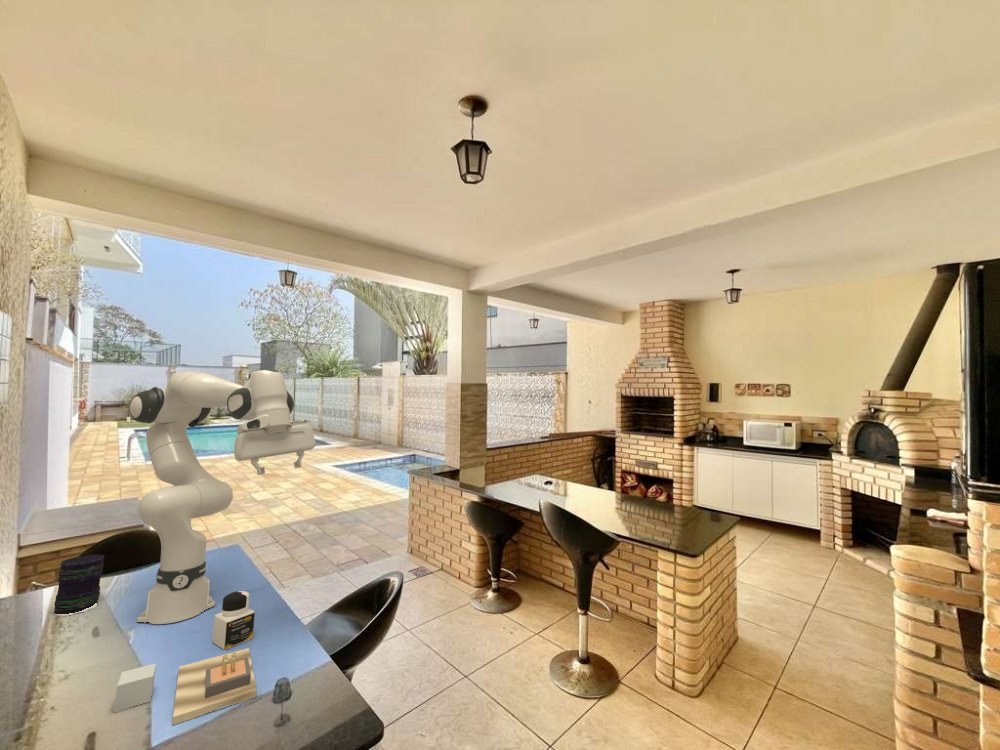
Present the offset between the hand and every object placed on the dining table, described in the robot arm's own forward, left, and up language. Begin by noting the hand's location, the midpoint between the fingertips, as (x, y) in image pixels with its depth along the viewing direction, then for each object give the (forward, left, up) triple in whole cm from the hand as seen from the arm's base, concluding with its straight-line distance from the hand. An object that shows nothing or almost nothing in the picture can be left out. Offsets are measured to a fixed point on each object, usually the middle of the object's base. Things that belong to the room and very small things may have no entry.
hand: (280, 471), depth 111 cm
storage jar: (-58, -46, -46) cm, 87 cm away
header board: (+12, -11, -45) cm, 48 cm away
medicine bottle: (-8, -7, -46) cm, 47 cm away
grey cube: (+8, -25, -45) cm, 52 cm away
